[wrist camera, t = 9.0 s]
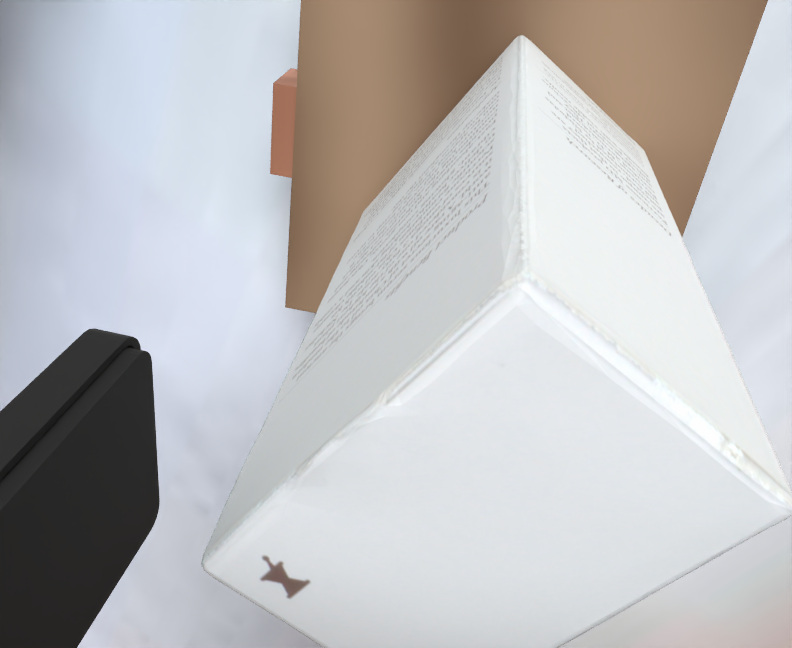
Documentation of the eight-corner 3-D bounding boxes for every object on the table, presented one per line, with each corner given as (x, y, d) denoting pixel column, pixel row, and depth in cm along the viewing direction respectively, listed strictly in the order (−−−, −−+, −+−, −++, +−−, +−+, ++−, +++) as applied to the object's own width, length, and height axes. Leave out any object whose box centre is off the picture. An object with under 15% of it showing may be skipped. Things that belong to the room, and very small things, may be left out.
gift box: (727, -42, 20) (778, -16, 16) (618, 291, 25) (635, 376, 21) (327, -103, 21) (273, -94, 16) (306, 234, 26) (261, 305, 22)
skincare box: (482, 307, 21) (431, 731, 11) (361, 209, 20) (178, 571, 10) (656, 146, 18) (819, 523, 8) (524, 22, 17) (509, 261, 7)
